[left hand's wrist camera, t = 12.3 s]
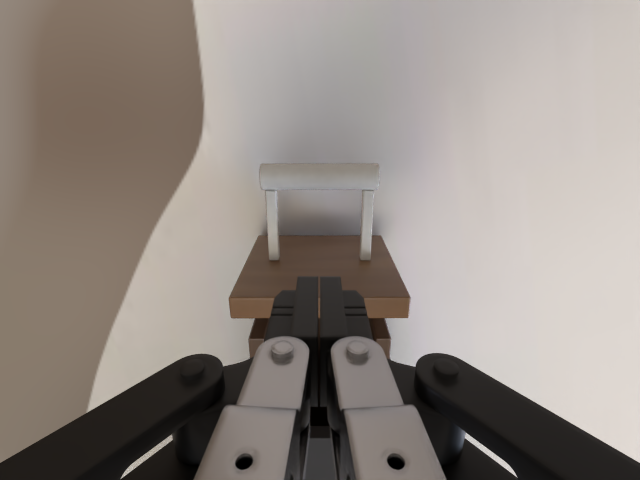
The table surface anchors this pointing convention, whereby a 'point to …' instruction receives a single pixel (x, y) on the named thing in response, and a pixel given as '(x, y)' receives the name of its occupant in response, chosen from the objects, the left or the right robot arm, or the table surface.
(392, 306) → the drawer
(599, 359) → the table surface
